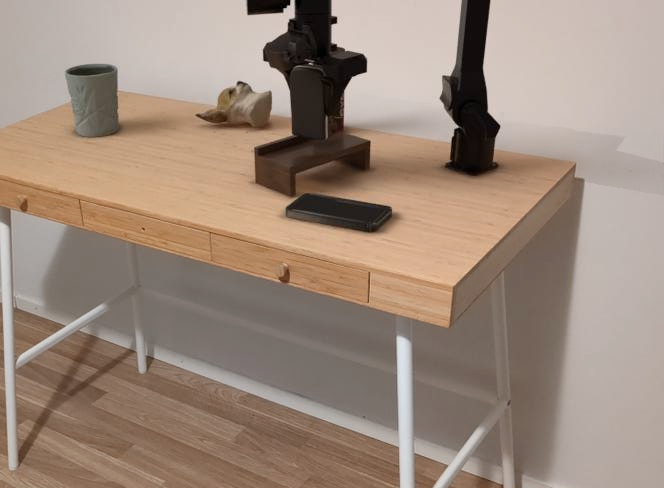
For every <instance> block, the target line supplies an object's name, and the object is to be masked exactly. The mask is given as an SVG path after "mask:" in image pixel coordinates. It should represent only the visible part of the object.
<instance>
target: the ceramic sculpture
mask: <svg viewBox="0 0 664 488" xmlns="http://www.w3.org/2000/svg"><path fill="white" fill-rule="evenodd" d="M272 92H273V91H271V90H268V91H267V90H266V91H263V92H256V91H254V90H253V89H252V86H251V85H250V84H248V83H247V82H244V81H242V80H238V81H236V84H235V86H234V85H232V86H229V87H226V88H225V89H223V90H222V91H221V92H220V94H219V95H218V96H217V105H216V107H215V108H213V109H208V110H206V111H205V112H202V113H196V114H195V117H197V118H198V119H201V120H203V121H205V122H207V123H211V124H222V123H227V124H229V125H244V124H247V123H249V124H250V125H251V126H252V127H253V128H262V127H265V126H266V124H267V123H268V121H269V120H270V116H271V112H272V109H273V93H272Z"/></svg>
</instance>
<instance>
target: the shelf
mask: <svg viewBox="0 0 664 488" xmlns="http://www.w3.org/2000/svg"><path fill="white" fill-rule="evenodd" d="M330 129H331V136H330V137H329V138H327V139H326V140H317V139H311V138H305V137H300V136H296V135H292V134H291V135H289V136H286V137H283V138H280V139H276V140H273V141H270V142H267V143H264V144H260V145H256V146H254V147H253V154H254V177H255V178H254V182H255V184H257V185H260V186H263V187H265V188H267V189H269V190H271V191H274V192H277V193H279V194H282V195H284V196H287V197H289V198H293V197H295V196H296V195H297V182H296V181H297V175H296V174H299V173H303V172H305V171H308V170H312V169H314V168H317V167H320V166H322V165H326V164H328V163H331V162H338V163H341V164H344V165H347V166H349V167H353V168H355V169H356V168H357V169H358V170H362V171H365V172H366V171H368V170H370V169H371V144H372V143H371V140H369V139H367V138H363V137H360V136H356V135H353V134H351V133H347V132H344V131H343V132H341V131H337V130H338V124H337V123H331V124H330Z"/></svg>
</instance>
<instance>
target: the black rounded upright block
mask: <svg viewBox="0 0 664 488" xmlns="http://www.w3.org/2000/svg"><path fill="white" fill-rule="evenodd" d="M323 75H325V74H324V72H323V66H320V65H313V64H311V63H309V64H303V65H300V66H296V67H294V68H293V69H292V71H291V73H290V90H289V101H290V115H291V117H290V118H291V136H292V135H296V136H300V137H305V138H311V139H317V140H326V139H327V138H329V137H330V136H331V129H330V124H329V117H327V116H326V110H325V92H324V84H323V83H322V82H321V81H320V80H319V78H318V77H319V76H323Z"/></svg>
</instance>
